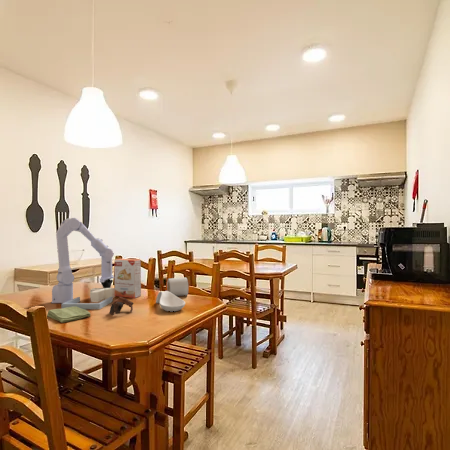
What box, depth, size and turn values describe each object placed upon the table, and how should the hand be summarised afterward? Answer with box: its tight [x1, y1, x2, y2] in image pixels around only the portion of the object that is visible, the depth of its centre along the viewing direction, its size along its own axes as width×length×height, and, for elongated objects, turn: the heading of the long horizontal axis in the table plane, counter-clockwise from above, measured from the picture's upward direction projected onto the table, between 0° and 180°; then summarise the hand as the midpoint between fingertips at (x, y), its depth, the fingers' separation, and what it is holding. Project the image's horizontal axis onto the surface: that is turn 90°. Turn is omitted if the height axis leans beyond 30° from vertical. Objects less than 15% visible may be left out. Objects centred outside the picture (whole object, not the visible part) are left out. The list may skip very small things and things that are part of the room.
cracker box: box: [114, 258, 142, 299], centre depth 178 cm, size 14×6×21 cm, turn 68°
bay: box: [61, 296, 114, 310], centre depth 158 cm, size 18×16×2 cm
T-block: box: [89, 287, 116, 303], centre depth 171 cm, size 12×12×5 cm
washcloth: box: [46, 306, 91, 324], centre depth 137 cm, size 13×18×3 cm
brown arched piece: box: [108, 296, 134, 316], centre depth 142 cm, size 12×10×8 cm
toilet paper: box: [166, 277, 189, 297], centre depth 178 cm, size 10×10×10 cm
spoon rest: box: [155, 290, 186, 313], centre depth 152 cm, size 24×12×7 cm, turn 31°
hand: (106, 292), depth 181 cm, fingers closed
